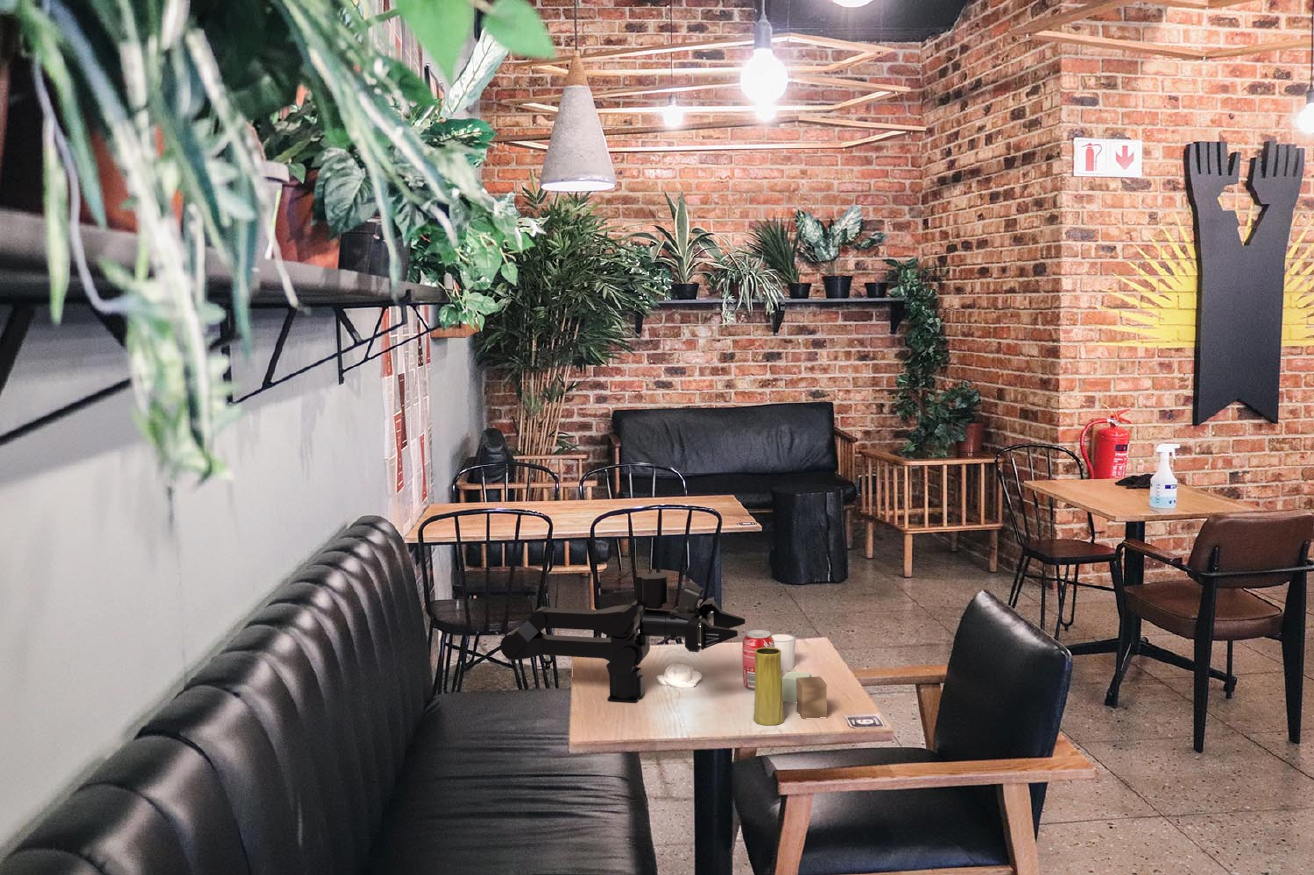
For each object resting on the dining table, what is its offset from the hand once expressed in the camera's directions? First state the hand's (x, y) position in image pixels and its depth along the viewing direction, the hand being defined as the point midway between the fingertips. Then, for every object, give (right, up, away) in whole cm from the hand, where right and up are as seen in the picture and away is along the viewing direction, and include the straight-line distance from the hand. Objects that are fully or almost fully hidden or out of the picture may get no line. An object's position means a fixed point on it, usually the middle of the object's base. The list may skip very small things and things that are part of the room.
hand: (741, 627), depth 222 cm
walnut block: (+14, -17, -5) cm, 22 cm away
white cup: (+11, -14, +26) cm, 32 cm away
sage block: (+12, -16, +5) cm, 21 cm away
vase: (+5, -17, -8) cm, 20 cm away
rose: (-12, -16, +17) cm, 26 cm away
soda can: (+5, -16, +13) cm, 21 cm away
